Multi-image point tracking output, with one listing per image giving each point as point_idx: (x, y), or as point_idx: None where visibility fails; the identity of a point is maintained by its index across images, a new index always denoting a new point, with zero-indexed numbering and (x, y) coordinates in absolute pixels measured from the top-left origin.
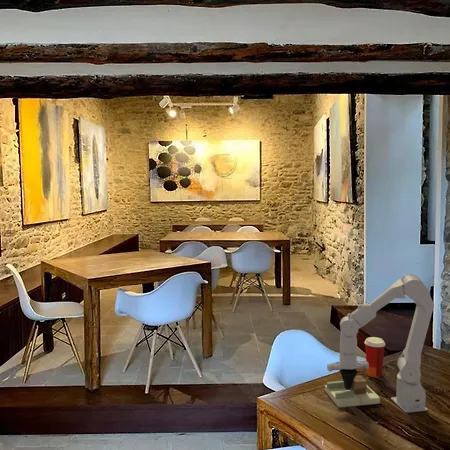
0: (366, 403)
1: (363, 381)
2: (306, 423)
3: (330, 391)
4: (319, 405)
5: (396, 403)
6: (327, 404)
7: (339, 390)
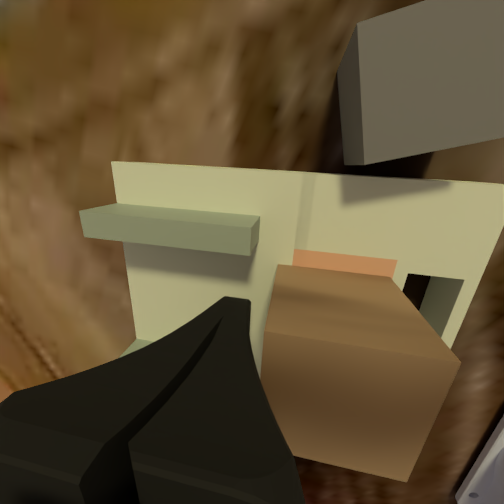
0: None
1: (362, 468)
2: (20, 389)
3: (128, 264)
4: (78, 307)
5: (489, 445)
6: (117, 312)
7: (194, 270)
